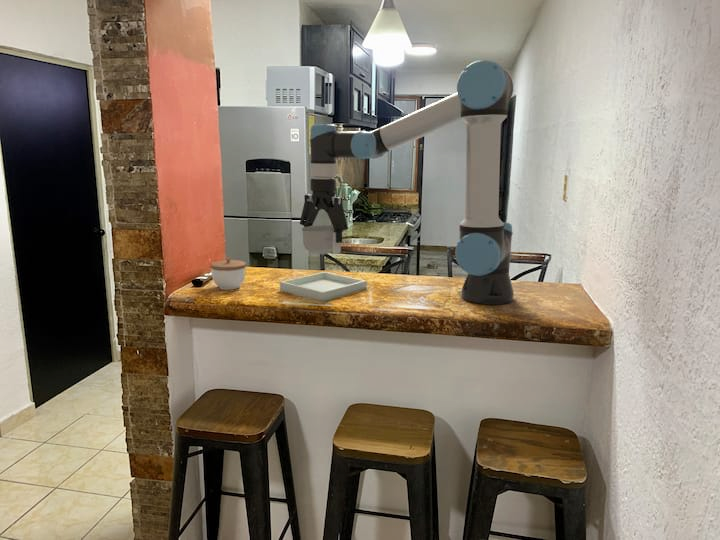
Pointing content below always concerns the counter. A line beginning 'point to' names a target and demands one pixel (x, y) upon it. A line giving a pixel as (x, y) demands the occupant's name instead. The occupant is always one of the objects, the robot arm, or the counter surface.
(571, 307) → the counter surface
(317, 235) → the teacup
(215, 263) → the lidded jar
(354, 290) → the tray
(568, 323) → the counter surface
